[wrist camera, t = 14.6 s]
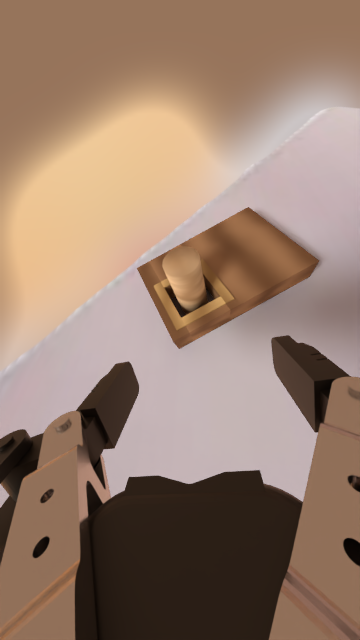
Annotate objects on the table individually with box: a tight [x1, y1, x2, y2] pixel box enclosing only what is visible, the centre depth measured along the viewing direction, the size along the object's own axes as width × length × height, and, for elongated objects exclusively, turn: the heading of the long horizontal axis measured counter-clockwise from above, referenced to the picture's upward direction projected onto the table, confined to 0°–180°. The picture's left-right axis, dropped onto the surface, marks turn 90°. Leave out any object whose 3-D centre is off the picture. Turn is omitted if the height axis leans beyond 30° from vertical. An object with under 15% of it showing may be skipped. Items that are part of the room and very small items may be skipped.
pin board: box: [137, 207, 319, 349], centre depth 26 cm, size 20×14×3 cm
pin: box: [162, 246, 208, 315], centre depth 23 cm, size 4×4×9 cm
